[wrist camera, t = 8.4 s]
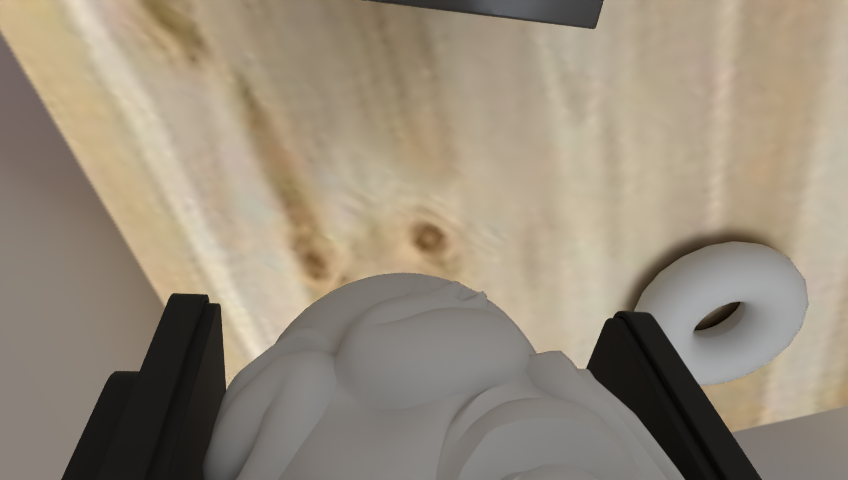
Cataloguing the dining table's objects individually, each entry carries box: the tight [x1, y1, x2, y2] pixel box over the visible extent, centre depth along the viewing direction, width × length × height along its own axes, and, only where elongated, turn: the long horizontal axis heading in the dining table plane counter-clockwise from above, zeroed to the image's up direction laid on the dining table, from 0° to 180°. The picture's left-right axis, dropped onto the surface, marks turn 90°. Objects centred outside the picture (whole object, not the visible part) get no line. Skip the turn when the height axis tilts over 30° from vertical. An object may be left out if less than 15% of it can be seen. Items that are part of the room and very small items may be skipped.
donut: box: [634, 241, 808, 385], centre depth 34 cm, size 10×4×10 cm
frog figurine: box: [202, 273, 685, 480], centre depth 9 cm, size 6×7×7 cm
